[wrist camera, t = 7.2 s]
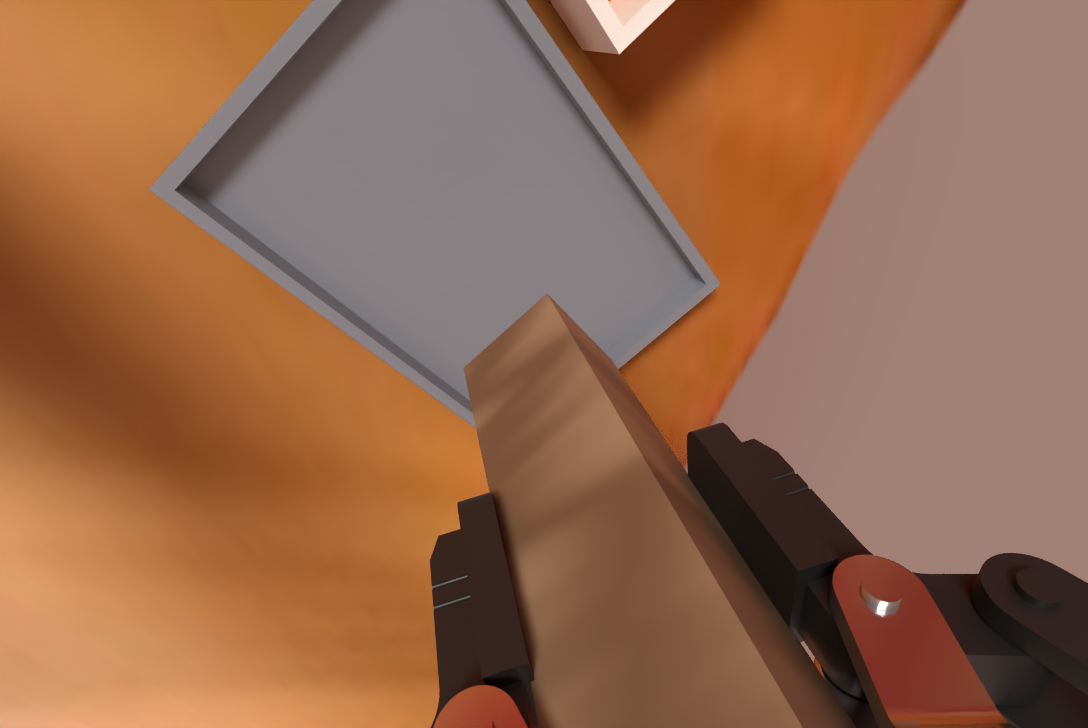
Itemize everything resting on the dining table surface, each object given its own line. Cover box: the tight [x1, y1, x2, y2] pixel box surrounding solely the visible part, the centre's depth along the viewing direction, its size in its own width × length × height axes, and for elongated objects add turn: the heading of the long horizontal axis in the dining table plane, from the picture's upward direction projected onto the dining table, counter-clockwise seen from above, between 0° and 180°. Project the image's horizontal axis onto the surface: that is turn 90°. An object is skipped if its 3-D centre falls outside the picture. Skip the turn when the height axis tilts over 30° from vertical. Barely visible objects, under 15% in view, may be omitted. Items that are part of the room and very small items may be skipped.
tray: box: [149, 0, 721, 428], centre depth 25 cm, size 15×21×2 cm
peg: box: [463, 294, 857, 728], centre depth 10 cm, size 3×3×14 cm
